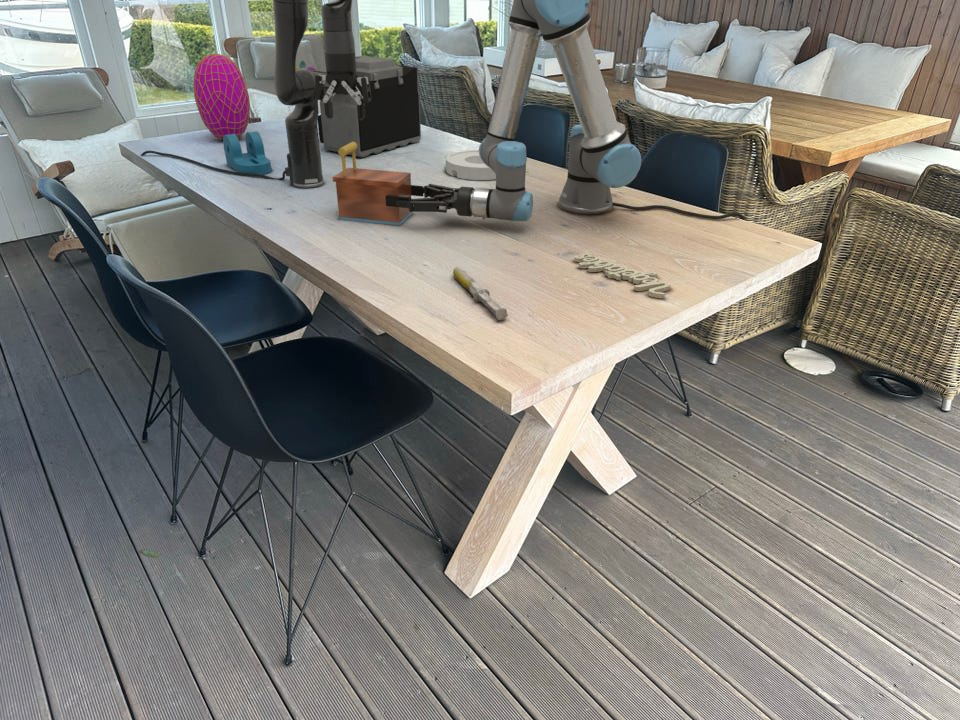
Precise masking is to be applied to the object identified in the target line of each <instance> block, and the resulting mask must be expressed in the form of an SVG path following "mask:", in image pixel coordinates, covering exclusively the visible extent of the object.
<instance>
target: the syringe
mask: <svg viewBox="0 0 960 720" xmlns="http://www.w3.org/2000/svg"><path fill="white" fill-rule="evenodd" d="M452 274H453V277H454V279H455V280H457V281H458V282H459V283H460V285H462V287H464V289H466V290H467V291H468V293H470V295H471V296H472V298H473V300H474V302H477V303H478V302H480V303H482V304H483V305H484V306H485V307H486V308H487V309H488V310H489V311H490V312H491V313H492V314H493V315H494V316H495V317H496V320H497V321H503V320H504V319H506V318H507V317H509V314H508V310H507V308H506V307H502V306H501V305H500V303H498V302H497V301H496V300H494V299H493V298H492V297H491V296H490V295H491V293H490V290H488V289H486V288H483V287H482V286H481V285H480V284H479V283H478V282H477V281H476V280H474V278H473V277H471V275H469V274H468V273H467V272H466V270H465V269H464V268H463V267H462V266H456V267H454V268H453V271H452Z"/></svg>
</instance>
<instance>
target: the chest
mask: <svg viewBox="0 0 960 720" xmlns="http://www.w3.org/2000/svg"><path fill="white" fill-rule="evenodd" d="M411 185H412V179H411V178H409V179H408V180H407V181H406V182H404V183H403V184H402V185H400V186H399V187H398V188H397V187H386V186H375V185H364V184H352V183H341V182H335V191H336V198H337V199H336V200H337V210H338V219H339V220H342V221H353V222H361V223H373V224H382V225H391V226H401V225H402V224H403V223H404V222H405V221H407V220H408V218H411V216H412V215H413V212H409V208H401V207H391V206H386V195H390V196H401V197H409V196H411ZM412 197H413V196H411V199H413V198H412Z"/></svg>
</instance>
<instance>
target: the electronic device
mask: <svg viewBox="0 0 960 720" xmlns="http://www.w3.org/2000/svg"><path fill="white" fill-rule="evenodd" d="M355 57H356V74H357V76H358V77H366V76H368V77H369V81H370V90H371V98H372V100H371V101H370V102H367V103H365V117H364V119H363V120H358V115H357V105H358V104H357V103H356V101H355V100H354V99H353V98H352V97H351V96H350V94H348V95H344V94H335V95H334V96H333V98H332V100H331V102H332V107H333V118H327V116H326V115H325V107H324V102H323V101H321V100H319V110H320V111H319V112H320V114H319V115H318V120H317V127H318V137H319V144H323V146H324V149H325V150H327V151H330V152H335V153H338V150H339V149H340V148H342V147H344V146H345V145H347V144H349V143H351V142H355V143H356V144H357V149H356V150H355V156H356V158H362V159H363V158H366V157H367V158H368V157H369V155H371V154H375V155H377V154H381V153H382V152H383V151H391V150H395V149H396V148H397V147H405V146H407V145H408V144H416V143H418V142H419V141H421V137H422V128H421V97H420V92H419V91H420V89H419V68H418V67H417V66H408V65H400V64H396V62H395V60H394V59H393V58H385V57H377V56H367V55H355ZM311 73H312V75H313V76H314V79H315V76H316V75H319V74H322V75H325V76H326V75H327V71H320V70H316V71H313V72H311ZM329 87H330V86H329V84H328V83H327V82H326V81H325V84H324V95H326V92H327V90H328V89H329ZM356 87H357V88H358V90H359V91H360V93H361V95H362V97H363V93H362V87H361V86H360V84H359V82H358V84H357V85H356ZM347 155H348V156H352V152H350V153H349V154H347Z"/></svg>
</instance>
